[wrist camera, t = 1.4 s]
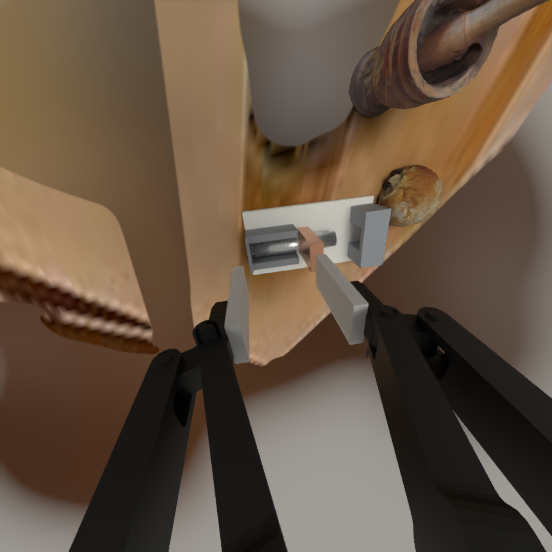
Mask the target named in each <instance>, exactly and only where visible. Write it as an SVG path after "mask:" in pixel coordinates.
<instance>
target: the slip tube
mask: <svg viewBox="0 0 552 552" xmlns="http://www.w3.org/2000/svg"><path fill="white" fill-rule="evenodd" d="M297 230H298V237H296V238H289V239H282V240H274V241H267V242H260V243H253V250H254V256H255V257H262V256H269V255H276V254H283V253H291V252H298V251H299V253H300V255H301V256H302V258H303V260H304V261H305V263H306V265H307V267H308V268H309V270H310V272H313V271H316V255H323V254H324V248H326V247H333V246H336V243H337V237H336V233H335V231H334V230H333V231H325V232H318V233H314V232H313V231H312V230H311V229H310V228H309V227H300V228H297Z"/></svg>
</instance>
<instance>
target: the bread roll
mask: <svg viewBox="0 0 552 552" xmlns="http://www.w3.org/2000/svg"><path fill="white" fill-rule="evenodd" d="M441 194H442V183H441V180H440V179H439V177H438V176H437V175H436V173H434V172H433V171H432V170H430V169H427V167H424V166H421V165H412V166H408V167H403V168H401V169H400V168H399V169H396V170H395V171H393V173H392V175H391V177H390V178H389V179H388V180H387V182H386V183H385V184H384V187H383V189H382V191H381V193H380V197H379V202H378V205H381V206H384V207H387V208H390V209H391V214H390V221H389V224H391V225H393V226H397V227H398V226H399V227H406V226H409V225H412V224H417V223H420V222H423V221H425V220H427V219H428V218H430V217H431V216H432V215H433V214H434V213H435V212H436V210H437V208H438V206H439V205H440V199H441Z"/></svg>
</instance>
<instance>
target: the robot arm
mask: <svg viewBox="0 0 552 552" xmlns="http://www.w3.org/2000/svg"><path fill="white" fill-rule="evenodd" d="M316 286H317V287H318V289H319V291H320V293H321V294H322V296H323V298H324V300H325V302H326V303H327V305H328V307H329V309H330V310H331V312H332V314H333V316H334V317H335V319H336V321H337V323H338V324H339V326H340V328H341V330H342V332H343V333H344V335H345V337H346V339H347V341H348V342H349V344H350V345H352V344H358V343H363V339H364V335H365V337H366V338H367V340H368V345H367V351H366V357H368V355H370V359H371V362H372V367H373V370H374V374H375V378H376V382H377V386H378V389H379V393H380V397H381V401H382V404H383V408H384V412H385V416H386V420H387V424H388V427H389V431H390V435H391V439H392V442H393V446H394V450H395V454H396V458H397V461H398V465H399V469H400V473H401V476H402V481H403V484H404V488H405V492H406V496H407V499H408V503H409V507H410V511H411V515H412V520H413V531H414V543H415V549H416V552H546V551H545V549H544V547H543V546H542V544H541V542H540V540H539V539H538V537H537V536H536V534H535V533H534V531H533V529H532V528H531V526H530V525H529V524H528V522H527V521H526V520H525V518H524V517H523V516H522V515H521V514H520V513H519V512H518V511H517V510H516V509H514V508H513V507H511V506H510V505H508V504H507V503H505V502H504V501H503V500H502V499H501V498H500V497H499V495H498V493H497V492H496V490H495V489H494V487H493V485H492V483H491V481H490V479H489V477H488V475H487V474H486V472H485V470H484V468H483V466H482V464H481V462H480V460H479V459H478V457H477V455H476V453H475V451H474V449H473V447H472V446H471V444H470V442H469V440H468V438H467V436H466V435H465V432H464V431H463V429H462V427H461V425H460V423H459V421H458V419H457V417H456V416H455V414H454V412H455V413H456V414H457V416H458V417H459V418H460V420H461V421H462V422H463V423H464V425H465V426H466V427H467V428H468V430H469V431H470V432H471V434H472V435H473V436H474V437H475V439H476V440H477V441H478V442H479V444H480V445H481V446H482V448H483V449H484V450H485V451H486V452H487V454H488V455H489V456H490V458H491V459H492V460H493V462H494V463H495V464H496V465H497V467H498V468H499V469H500V470H501V472H502V473H503V474H504V476H505V477H506V478H507V480H508V481H509V482H510V483H511V485H512V486H513V487H514V488H515V490H516V491H517V492H518V493H519V495H520V496H521V497H522V499H523V500H524V501H525V503H526V504H527V505H528V506H529V508H530V509H531V510H532V511H533V513H534V514H535V515H536V516H537V518H538V519H539V520H540V522H541V523H542V524H543V526H544V527H545V528H546V529H547V531H548V532H549V533H550V534H551V536H552V398H551V397H549V396H548V395H547V394H546V393H544V392H543V391H542V390H541V389H539V388H538V387H537V386H536V385H534V384H533V383H532V382H531V381H529V380H528V379H527V378H526V377H524V376H523V375H522V374H521V373H520V372H518V371H517V370H516V369H515V368H513V367H512V366H511V365H509V364H508V363H507V362H506V361H504V360H503V359H502V358H501V357H500V356H498V355H497V354H496V353H495V352H493V351H492V350H491V349H490V348H488V347H487V346H486V345H485V344H484V343H482V342H481V341H480V340H478V339H477V338H476V337H475V336H474V335H472V334H471V333H470V332H469V331H467V330H466V329H465V328H464V327H462V326H461V325H460V324H459V323H458V322H456V321H455V320H454V319H453V318H451V317H450V316H449V315H448V314H446V313H444V312H443V311H441V310H439V309H435V308H431V307H424V308H420V309H419V310H418V313H417V315H411V314H401V313H400V312H399V311H398V310H397V309H396V308H393V307H391V306H387V305H383V304H382V303H381V302H380V300H379V299H378V298H377V297H376V296H375V295H373V294H372V292H371V291H370V290H368V288H367V287H366V286H365V285H364V284H362V283H360V282H358V281H352V282H349V281H348V279H347V278H346V277H345V276H344V275H343V274H342V272H341V271H340V270H339V269H338V268H337V267H336V265H335V264H334V263H333V262H332V261H331V260H330V259H329V257H328V256H327V255H326V254H323V255H316ZM192 334H193V336H194V339H195V341H196V344H197V346H196V347H194V348H192V349H190V350H188V351H185V352H183V353H180V351H179V350H177V349H168V350H165V351H163V352H161V353H159V354H158V355H157V356H156V357H155V358H154V359H153V360H152V362H151V364H150V366H149V368H148V370H147V373H146V375H145V378H144V380H143V382H142V385H141V387H140V389H139V392H138V394H137V396H136V398H135V400H134V403H133V405H132V408H131V410H130V412H129V414H128V417H127V419H126V421H125V423H124V426H123V428H122V431H121V433H120V435H119V437H118V440H117V442H116V444H115V446H114V449H113V451H112V454H111V456H110V458H109V460H108V463H107V465H106V467H105V469H104V472H103V474H102V476H101V479H100V481H99V484H98V486H97V488H96V490H95V492H94V495H93V497H92V500H91V502H90V504H89V506H88V509H87V511H86V513H85V515H84V518H83V520H82V522H81V525H80V527H79V529H78V532H77V534H76V537H75V539H74V541H73V543H72V546H71V548H70V550H69V552H168V551H169V545H170V540H171V534H172V528H173V523H174V517H175V511H176V506H177V500H178V494H179V488H180V483H181V477H182V472H183V466H184V460H185V454H186V449H187V443H188V438H189V432H190V426H191V420H192V415H193V409H194V404H195V398H196V392H197V391H199V390H201V389H203V397H204V405H205V414H206V421H207V430H208V438H209V447H210V455H211V464H212V472H213V480H214V488H215V497H216V505H217V514H218V522H219V530H220V539H221V547H222V552H288V551H287V547H286V544H285V541H284V537H283V534H282V530H281V527H280V524H279V520H278V517H277V514H276V510H275V507H274V503H273V500H272V496H271V493H270V490H269V486H268V483H267V479H266V476H265V473H264V469H263V466H262V463H261V459H260V455H259V452H258V449H257V445H256V442H255V438H254V435H253V432H252V428H251V425H250V421H249V418H248V415H247V411H246V408H245V404H244V401H243V398H242V394H241V391H240V387H239V384H238V380H237V377H236V374H235V370H234V367H233V360H234V361H235V364H239V363H245V362H249V294H248V289H247V284H246V279H245V274H244V269H243V266H238V267H233V270H232V277H231V284H230V291H229V298H228V301H223V302H217V303H215V305H214V306H213V307H212V309H211V313H210V317H209V320H205V321H203V322H201V323H199V324H198V325H197V326H196V327H195V328H194V329H193V333H192ZM439 348H441V349H442V350H444V352H445V353H443V352H442V351H441V350H440V349H439ZM452 409H453V410H452ZM453 411H454V412H453Z"/></svg>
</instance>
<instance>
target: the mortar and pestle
mask: <svg viewBox="0 0 552 552" xmlns="http://www.w3.org/2000/svg"><path fill="white" fill-rule="evenodd" d="M546 1H548V0H415V1H414V2H413V3H412V4H411V5H410V6H409V7H408V8H407V9H406V10H405V11H404V12H403V14H402V15H401V16H400V17H399V19H398V20H397V21H396V22H395V23H394V24H393V25H392V27H391V28H390V30H389V31H388V33H387V35H386V37H385V38H384V40H383V42H382V44H381V46H380V47H377V48H374V49H372V50H371V51H369V52H368V53H366V54H365V55H364V56H363V57H362V59H361V60H360V62H359V63H358V65H357V66H356V68H355V70H354V72H353V75H352V78H351V83H350V89H349V94H350V96H351V101H352V103H353V105H354V107H355V108H356V109H357V111H358V112H359V113H360V114H361V115H363V116H365V117H374V116H377V115H380V114H382V113H383V112H385V111H386V110H388V109H389V108H390V107H392V108H397V109H407V108H414V107H418V106H421V105H423V104H426V103H430V102H434V101H438V100H441V99H444V98H447V97H449V96H452V95H454V94H456V93H457V92H459V91H460V90H461V89H462V88H463V87H465V86H466V85H468V84H469V83H470V81H471V80H472V79H473V78H474V77H475V76H476V75H477V73H478V72H479V70H480V69H481V67H482V65H483V64H484V62H485V61H486V59H487V57H488V55H489V53H490V51H491V48H492V45H493V42H494V40H495V38H496V36H497V33H498V29H499V26H501V25H502V24H504V23H505V22H507V21H509V20H510V19H512V18H514V17H516V16H518V15H520V14H522V13H524V12H526V11H528V10H530V9H532V8H534V7H535V6H537V5H540V4H542V3H544V2H546Z"/></svg>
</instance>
